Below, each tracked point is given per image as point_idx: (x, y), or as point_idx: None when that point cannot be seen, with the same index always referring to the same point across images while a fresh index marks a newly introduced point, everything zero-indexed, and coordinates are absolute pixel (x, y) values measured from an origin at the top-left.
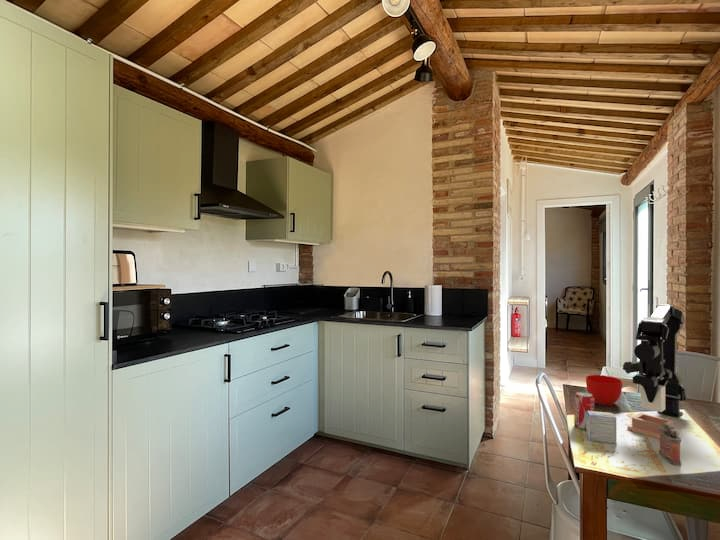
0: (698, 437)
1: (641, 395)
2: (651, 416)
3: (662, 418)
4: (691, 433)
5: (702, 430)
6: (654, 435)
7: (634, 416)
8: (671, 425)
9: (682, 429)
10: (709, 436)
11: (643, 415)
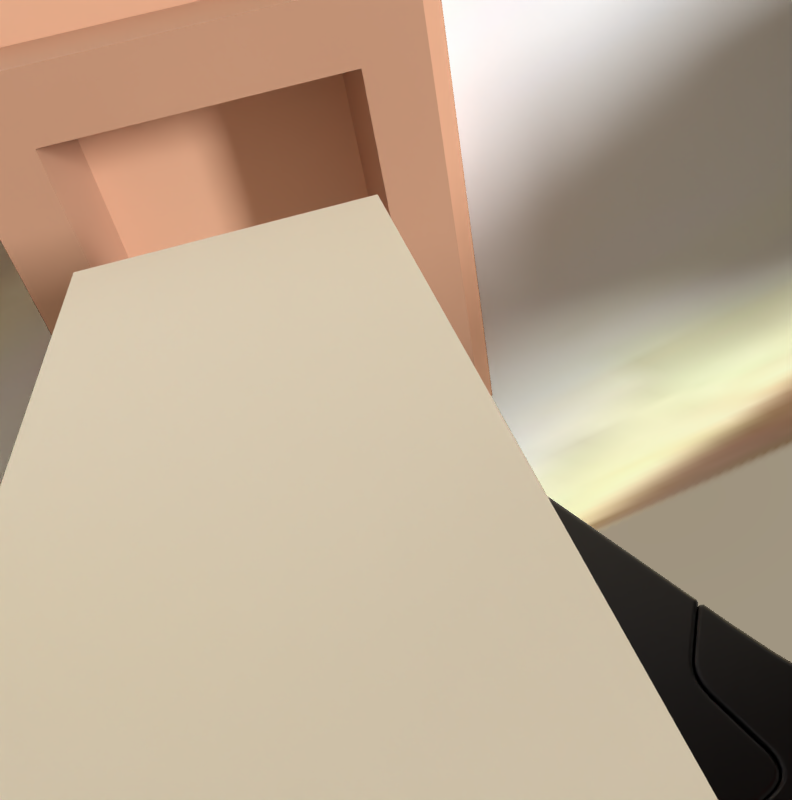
0: (537, 477)
1: (23, 504)
2: (390, 207)
3: (454, 329)
4: (595, 405)
5: (768, 392)
6: None
7: (52, 64)
8: None
9: (646, 313)
10: (645, 488)
11: (357, 69)
